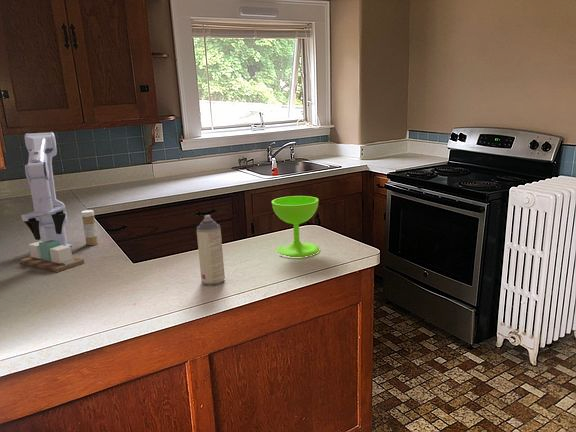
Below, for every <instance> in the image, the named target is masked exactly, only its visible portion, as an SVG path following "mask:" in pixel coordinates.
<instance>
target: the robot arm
mask: <svg viewBox="0 0 576 432" xmlns="http://www.w3.org/2000/svg"><path fill="white" fill-rule="evenodd" d="M24 143H25V144H24V145H25V147H26V149H27V152H28V161H27V164H25V165H24V170H25V173H24V174H25V177H26V179H27V183H28V186H29V187H30V188H29V189H30V192H31V200H32V203H33V209H34V211H31V212H28V213H25V214H21V220H22V222H24V224H25V225H26V226H27V227H28V228H29V230H30V231H31V234H32V235H33V237H34V240H35V241H45V240H49V239H54V240H59V242H60V245H64V246H69V247H73V244H70V243H68V240H67V233H66V228H65V227H66V226H65V224H66V223H67V222H68V213H67V208H66V205H65V203H64V202H63V201H60V200H58V199H57V194H56V187H55V181H54V172H53V164H52V163H53V158H54V157H55V156H57V154H58V153H57V152H58V150H57V149H58V148H57V141H56V136H55V133H54V132H53V131H50V132H37V133H36V132H35V133H28V132H27V133H25V134H24Z"/></svg>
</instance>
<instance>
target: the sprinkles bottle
mask: <svg viewBox="0 0 576 432" xmlns="http://www.w3.org/2000/svg"><path fill="white" fill-rule="evenodd" d="M80 215H81V219H82V224H83V232H84V238H85V245H86V246H95V245H98V244H99V241H98V232H97V226H96V220H95V211H94V210H92V209H87V210H83V211H81V212H80Z"/></svg>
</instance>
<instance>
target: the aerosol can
mask: <svg viewBox="0 0 576 432" xmlns="http://www.w3.org/2000/svg"><path fill="white" fill-rule="evenodd" d="M211 217H212V216H211V215H210V214H206V215H204V217H203V218H204V219H203V220H202V221H201V222H200V223H199V225H197V226H196V239H197V246H198V247H197V250H198V259H199V260H198V261H199V268H200V269H199V270H200V278H201V279H200V280H201V281H200V282H201V284H202V283H203V284H205V285H204V286H206V285H210V286H209V287H211V285H215V286H219V285H222V284H223V282H224V281H226V279H225V277H226V276H225V266H224V253H223V242H222V231H221V230H222V229H221V228H222V227H221V225H220V224H219V223H217V222H216V221H215V220H214V219H213V218H211ZM224 279H225V280H224ZM221 283H222V284H221ZM224 283H225V282H224ZM203 284H202V285H203ZM218 284H219V285H218Z"/></svg>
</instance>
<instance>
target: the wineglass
mask: <svg viewBox="0 0 576 432" xmlns="http://www.w3.org/2000/svg"><path fill="white" fill-rule="evenodd" d="M319 201H320V200H319V198H318V197H314V196H310V195H308V196H307V195H292V196H291V195H289V196H283V197H279V198H278V197H277V198H275V199H273V200H271V205H272V206H271V207H272V210H273V212H274V214H275V215H276V217H278V218H279V220H281V221H283V222H284V223H287V224H290V225H293V226H292V227H293V228H292V229H293V242H288V243H283V244H284V245H285V244H291V243H293V244H292V245H290V246H287V247H285V248H283V249H281V247H282V246H283V244H282V245H281V246H280V245H279V246H277V247H278V248H277V247H276V248H277V251H278V253H280V254H282V255H286V256H290V257H305V256H310V255H313V254H316V253H317V252H318V251H319V248H320V246H318V245H317V244H315V243H311V242H306V241H305V242H303V241H300V225H301V224H304V223H306V222H307V221H309V220H310V219H311V218H312V217H313V216H314V215H315V214H316V212H317V210H318V207H319ZM302 243H305V244H306V245H305V244H304V245H303V244H302Z"/></svg>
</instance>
